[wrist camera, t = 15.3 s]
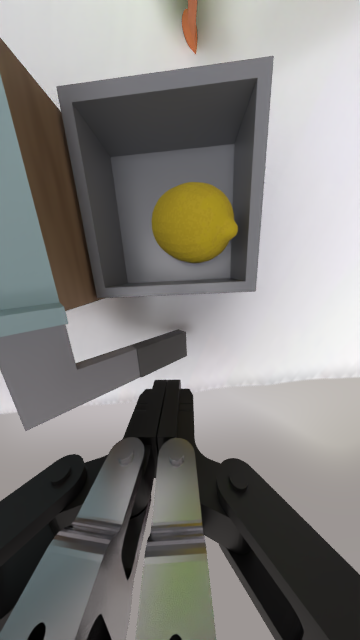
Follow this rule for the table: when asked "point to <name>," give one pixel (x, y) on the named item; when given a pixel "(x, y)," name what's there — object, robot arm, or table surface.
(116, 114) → the bin
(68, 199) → the pedestal
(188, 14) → the catamaran
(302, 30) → the table surface
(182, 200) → the lemon
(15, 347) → the tray
